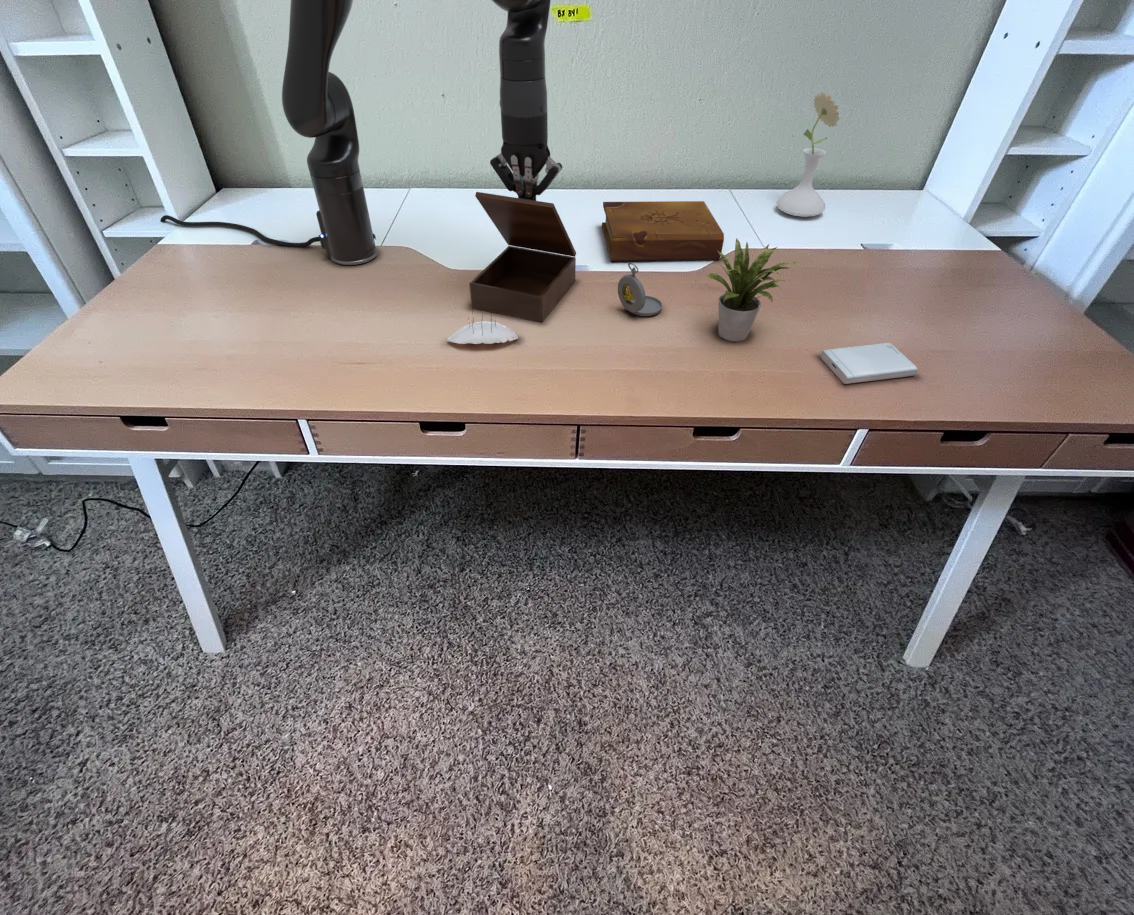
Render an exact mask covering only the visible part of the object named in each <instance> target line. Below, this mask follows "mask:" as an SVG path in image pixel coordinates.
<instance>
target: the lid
mask: <svg viewBox="0 0 1134 915" xmlns="http://www.w3.org/2000/svg"><path fill="white" fill-rule="evenodd" d="M474 197H475V198H476V200H477V201H478V202H479V204H480V206H481V207H482V208H483V210H484V212H485V213H486V215H487V216H488V217H489V219H490V221H491V222H492V223H493V225H494V226H495V228H496V229H497V231H498V232H499V234H500V235H501V237H502V238H503V240H504V241H505V243H506V245H508V246H513V247H519V248H525V249H531V250H536V251H542V252H548V253H554V254H560V255H565V256H571V257H576V256H577V251H576V249H575V247H574V245H573V243H572V240H571V239H570V236H569V234H568V232H567V230H566V227H565V225H564V223H563V221H562V218H561V217H560V215H559V212H558V210H557V208H556V206H555V204H554V203H553V202H546V201H539V200H536V201H534V200H528V199H521V198H518V197H513V196H507V195H501V194H494V193H487V192H481V191H476V192H475V194H474Z"/></svg>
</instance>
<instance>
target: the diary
mask: <svg viewBox="0 0 1134 915" xmlns="http://www.w3.org/2000/svg"><path fill="white" fill-rule="evenodd" d="M602 207H603V211H604V215H605V222H603V221H602V222H601V229H602V233H603V236H604V240H605V243H606V248H607V251H608V255H609V259H610V261H611V262H613V261H614V262H615V261H616V262H618V261H621V262H624V261H625V262H627V261H628V262H629V261H701V260H703V261H704V260H707V261H709V260H711V261H712V260H713V261H714V260H720V259H721V258H722V257H721V256H720V254H719V253H718V251H719V252H721V253H723V251H722V250H723V247H724V242H725V233H724V231H723V230H722V228H721V227H720V225H719V224H718V222H717V220H716V219H715V217H714V215H713V214H712V212H711V210H710V209H709V207H708V205H707V204H706V202H705V201H703V200H694V201H693V200H689V201H687V200H682V201H679V200H678V201H677V200H676V201H672V200H670V201H667V200H666V201H663V200H662V201H659V200H658V201H602ZM717 250H718V251H717Z"/></svg>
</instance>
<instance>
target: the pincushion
mask: <svg viewBox="0 0 1134 915" xmlns="http://www.w3.org/2000/svg"><path fill="white" fill-rule="evenodd" d="M481 309H482V306H481ZM471 312H472V314H474V311H473V309H472V310H471ZM481 318H482V319H481V320H480V321H476V322H475V321H474V318H472V322H471V323H468V324H466V325H464V326H461V327H460V328H459V329H458V330H456V331H454V333H452V334H451V335H450V336H449V337H448V338H447V340H446V341H447V342H450V343H453V344H454V343H455V344H459V345H466V344H473V346H474V347H475V346H476V345H477V344H482V346H485V344H488V345H489V344H490V345H492V346H494V344H495V343H497V344H500V343H502V344H504V343H507V341H508V342H512V341H514V340H519V337H518V335H517V334H516V332H514V331H513V330H512V329H510V328H509V327H508V326H505V325H503V323H499V322H497V321H493V319H492V315H490V321H488V320H487V321H486V320H485V321H484V316H483V315H481ZM468 319H470V317H468Z"/></svg>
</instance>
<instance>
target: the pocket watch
mask: <svg viewBox="0 0 1134 915" xmlns="http://www.w3.org/2000/svg"><path fill="white" fill-rule="evenodd" d="M630 265H632V266H633V267H631V266H630ZM627 267H628V268H629V270H630V272H631V273H630V274H626V275H624V276H622V277H621V278H620V279H619V280H618V284H617V295H618V298H619V302H620V303H621V305H622V306H623V307H624V308H625V309H626V310H627V311H629V312H630V313H632V314H634V315H635V316H640V317H649V316H650V317H651V316H655V315H657V314H659V313H660V312H661V311H662V310H663V303H662V301H661V299H658V298H657V297H654V296H651V295H646V291H645V288H644V286H643V284H642V282H641V280H640V279H639V278H638V277H637V276H636V274H637V273H639V268H638V266H637V265H636V264H635V263H632V262H628V264H627Z"/></svg>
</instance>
